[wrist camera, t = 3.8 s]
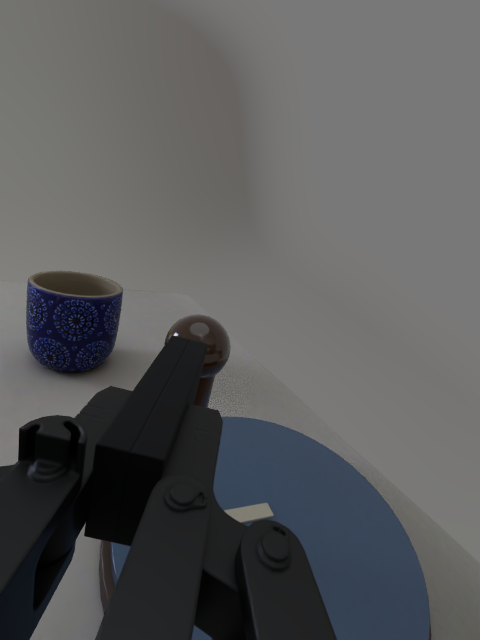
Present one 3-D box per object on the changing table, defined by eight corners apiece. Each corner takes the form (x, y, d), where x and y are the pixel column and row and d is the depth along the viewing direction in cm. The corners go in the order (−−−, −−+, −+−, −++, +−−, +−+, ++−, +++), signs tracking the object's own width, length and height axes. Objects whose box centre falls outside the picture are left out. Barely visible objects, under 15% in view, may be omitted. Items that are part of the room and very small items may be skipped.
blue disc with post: (306, 418, 42) (351, 293, 36) (502, 650, 21) (669, 443, 16) (106, 430, 32) (128, 258, 26) (118, 896, 11) (228, 549, 6)
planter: (114, 345, 52) (122, 278, 48) (114, 382, 42) (124, 301, 39) (34, 340, 47) (37, 265, 44) (14, 380, 38) (16, 289, 34)
